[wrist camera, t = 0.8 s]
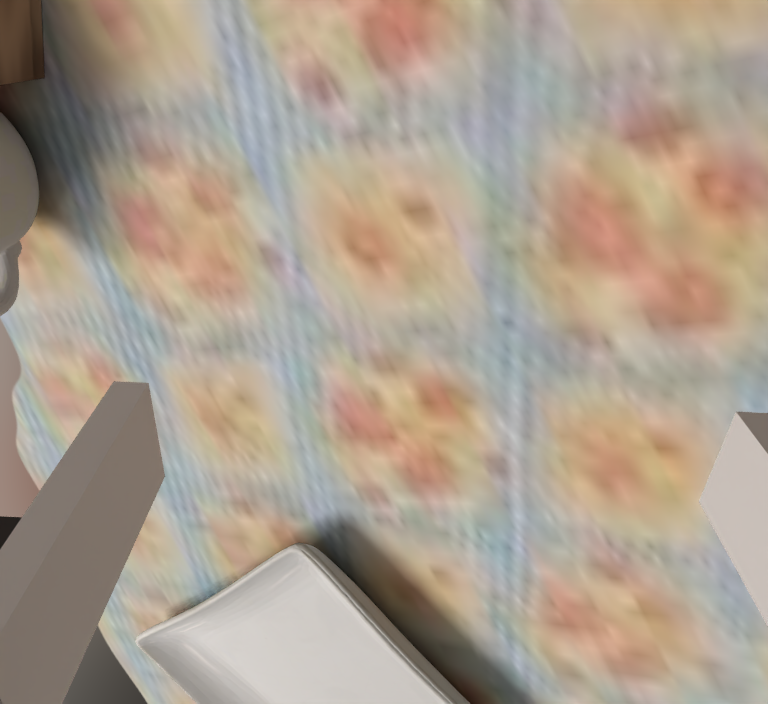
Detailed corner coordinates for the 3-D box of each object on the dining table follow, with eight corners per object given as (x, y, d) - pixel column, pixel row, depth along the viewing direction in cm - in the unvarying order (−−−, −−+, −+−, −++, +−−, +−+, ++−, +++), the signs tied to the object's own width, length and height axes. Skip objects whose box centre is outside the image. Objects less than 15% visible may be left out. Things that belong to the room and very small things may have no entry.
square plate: (553, 747, 51) (546, 798, 48) (342, 787, 66) (326, 827, 63) (318, 511, 47) (293, 549, 44) (152, 611, 63) (126, 645, 60)
